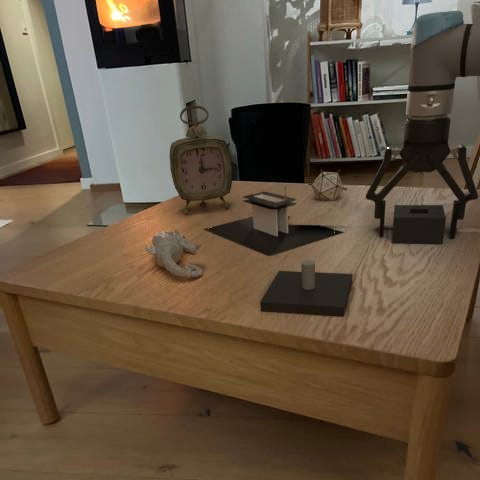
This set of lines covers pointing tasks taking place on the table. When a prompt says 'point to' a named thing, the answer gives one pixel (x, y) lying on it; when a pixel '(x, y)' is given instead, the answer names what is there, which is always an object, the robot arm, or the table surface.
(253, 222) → the architectural model
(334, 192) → the game die
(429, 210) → the black square block
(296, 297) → the base pad
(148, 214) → the table surface
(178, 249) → the seahorse
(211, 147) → the tabletop clock
